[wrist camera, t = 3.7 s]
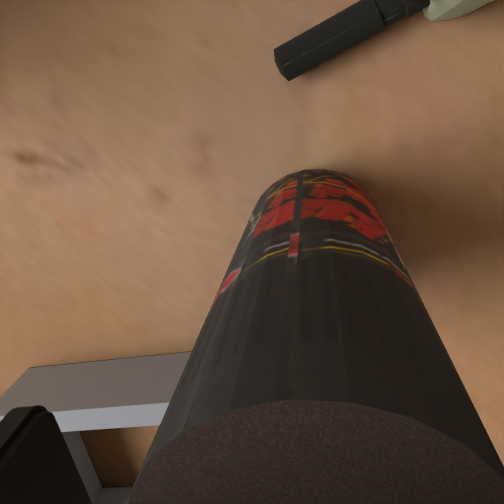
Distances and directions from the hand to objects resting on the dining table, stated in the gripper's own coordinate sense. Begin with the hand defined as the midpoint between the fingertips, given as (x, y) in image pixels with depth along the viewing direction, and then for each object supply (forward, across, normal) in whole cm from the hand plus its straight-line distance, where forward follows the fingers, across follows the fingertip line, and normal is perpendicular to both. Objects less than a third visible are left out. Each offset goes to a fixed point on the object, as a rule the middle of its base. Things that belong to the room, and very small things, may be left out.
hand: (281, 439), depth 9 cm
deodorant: (+13, -1, 0) cm, 13 cm away
